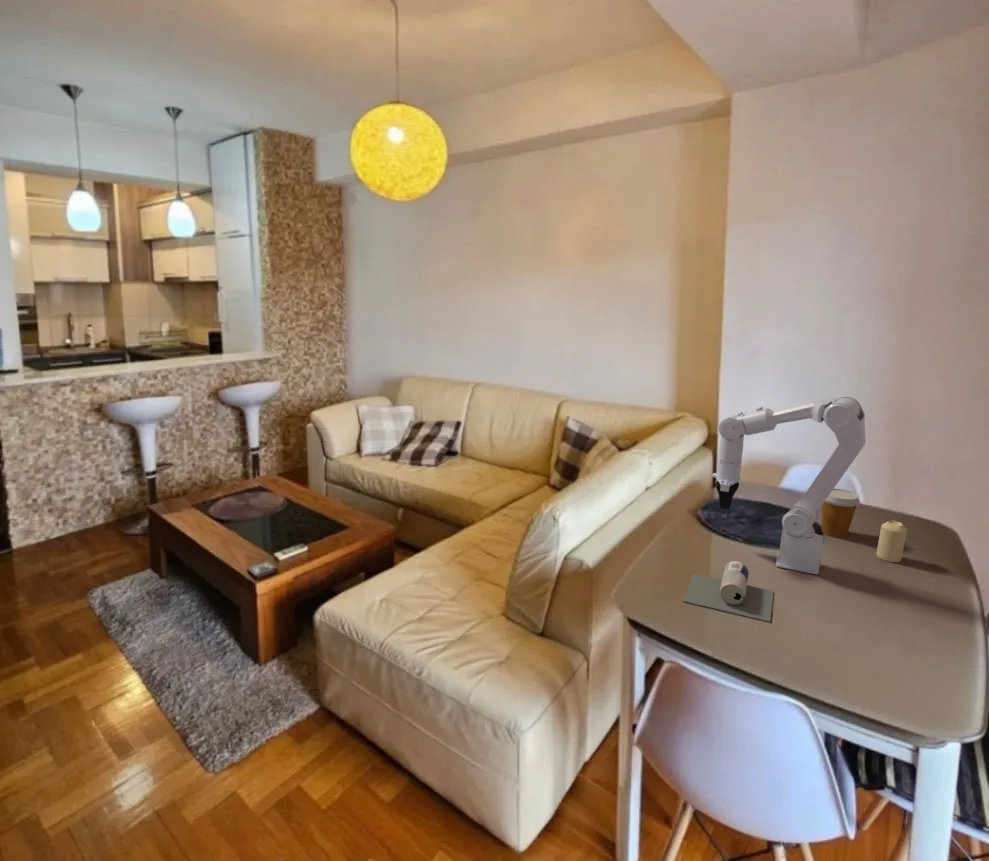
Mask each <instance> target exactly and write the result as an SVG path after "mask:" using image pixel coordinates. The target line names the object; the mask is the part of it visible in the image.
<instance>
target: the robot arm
mask: <svg viewBox="0 0 989 861" xmlns="http://www.w3.org/2000/svg"><path fill="white" fill-rule="evenodd" d="M865 418H866V413H865V411H864V409H863V407H862V405H861V404H860V402H859V401H858V400H857V399H856V398H854V397H850V396H841V397H839V398H835V397H834V398H827V399H820V400H815V401H811V402H810V401H809V402H807V403H804V404H799V405H796V406H792V407H788V408H784V409H780V410H776V411H774V410H772V409H771V408H769V407H766V408H764V407H763V406H760V407H756V408H755V410H753V411H748V412H744V413H743V412H742V411H741V412H740V411H739V412H737V414H732V415H730V416H728V417H726V418H724V419H723V420H722V421H721V422H720V423H719V425H718V432H719V434H720V443H719V449H718V459H717V460H718V461H717V471H716V472H713V473H712V475H711V477H712V478H714V479H716V481H715V488H716V491H717V494H718V499H719V508H720V509H721V510H722V509H723V510H728V511H729V509H730V507H731V504H732V502H733V497H734V495H735V493H736V492H737V491H738V489H739V486H740V482H741V478H742V477H741V469H742V462H743V461H742V460H743V451H744V440H745V436H751V435H755V434H756V435H757V434H762V433H765V432H770V431H771V432H772V431H773V430H775V428H777V425H779V424H785V423H790V422H796V421H802V420H808V419H809V420H810V419H811V420H813V421H815V422H817V423H820V424H822V423H823V422H824V423H825V424H826V425H827V427H828V428H829V429H830V431H831V432H833V433H834V435H835V437H836V440H837V443H838V445H837V446H836V447H835V450H834V451H833V452H832V454H831V455H830V456H829V458H828V459H827V461H826V462H825V464H824V466H823V467H822V468H821V469H820V471H819V473H818V474H817V475H816V477H815V478H814V480H813V481H812V483H811V484H810V486H808V488H807V490H806V491H805V493H804V495H803V496H802V497H801V498H800V500H799V501H797V502H795V503H793V505H792V507H791V508H790V509H789V511H788V512H786V513H785V514H784V515H783V516H782V519H781V525H782V529H781V538H780V544H779V551H778V552H777V553H776V562H775V566H776V567H777V568H781V569H787V570H790V571H791V570H792V571H797V572H802V573H807V574H811V575H812V574H813V575H820V574H819V572H820V565H821V563H822V551H823V542H824V535H822V534H818V533H816V531H815V528H814V527H813V525H814V524H815V523H816V522H817V520H818V519H819V511H820V509H821V508H822V504H823V503H824V501H825V500H826V499H827V497H828V496H829V494H830V493H831V492H832V490H833V489H834V488H836V486H837V484H838V483H839V482H840V481H841V479H842V477H844V475H845V473H846V472H847V471H848V469H849V468H850V467H851V465H852V464H853V463H854V460H856V458H857V456H859V454H860V453H861V451H862V449H864V447H865V445H866V430H865V429H866V428H865Z"/></svg>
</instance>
